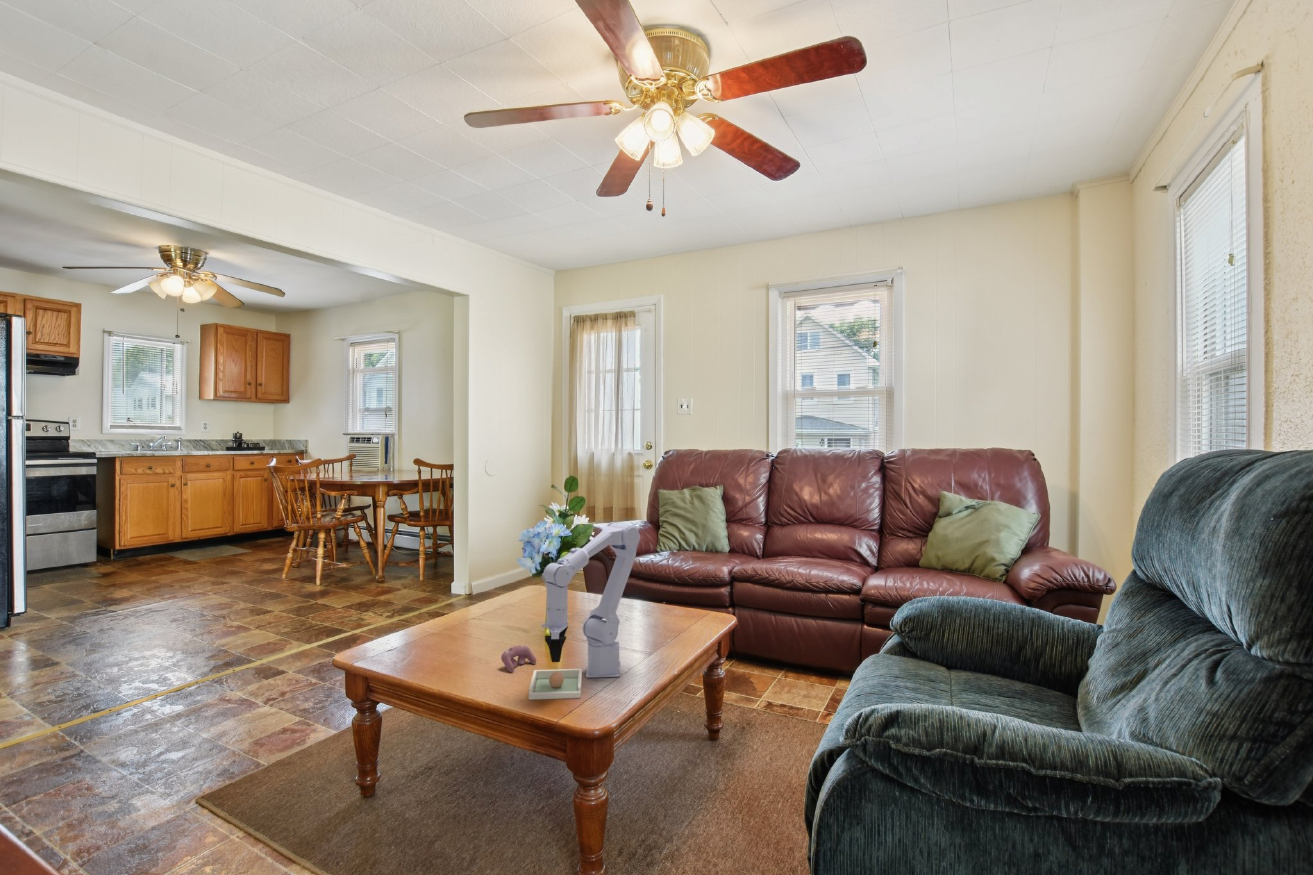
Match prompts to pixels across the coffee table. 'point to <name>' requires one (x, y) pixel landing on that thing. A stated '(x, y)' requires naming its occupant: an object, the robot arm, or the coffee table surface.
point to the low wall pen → (555, 695)
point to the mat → (567, 685)
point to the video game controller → (522, 654)
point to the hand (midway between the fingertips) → (556, 656)
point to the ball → (556, 679)
